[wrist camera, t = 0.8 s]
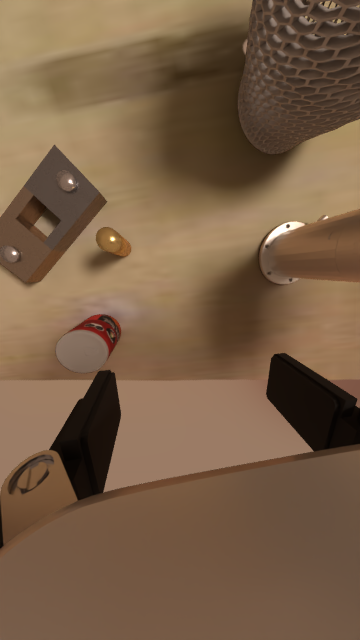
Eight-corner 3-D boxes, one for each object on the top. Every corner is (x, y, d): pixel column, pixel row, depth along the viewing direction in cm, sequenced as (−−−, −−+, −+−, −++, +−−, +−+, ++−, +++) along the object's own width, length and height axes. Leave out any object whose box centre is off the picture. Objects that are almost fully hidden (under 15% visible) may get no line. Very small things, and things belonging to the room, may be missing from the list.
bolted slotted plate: (68, 161, 29) (51, 141, 24) (107, 201, 31) (98, 190, 27) (0, 249, 31) (-26, 246, 27) (40, 281, 33) (22, 282, 29)
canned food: (127, 338, 39) (115, 364, 28) (94, 350, 39) (70, 380, 28) (113, 308, 37) (94, 323, 26) (77, 320, 36) (44, 341, 26)
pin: (121, 235, 33) (106, 221, 23) (134, 248, 34) (124, 240, 24) (110, 247, 33) (91, 239, 24) (123, 260, 34) (109, 256, 25)
